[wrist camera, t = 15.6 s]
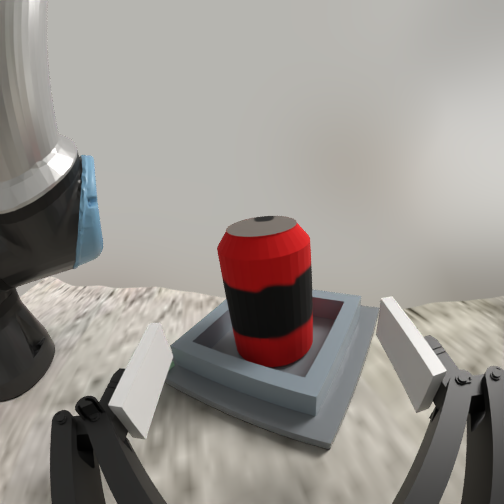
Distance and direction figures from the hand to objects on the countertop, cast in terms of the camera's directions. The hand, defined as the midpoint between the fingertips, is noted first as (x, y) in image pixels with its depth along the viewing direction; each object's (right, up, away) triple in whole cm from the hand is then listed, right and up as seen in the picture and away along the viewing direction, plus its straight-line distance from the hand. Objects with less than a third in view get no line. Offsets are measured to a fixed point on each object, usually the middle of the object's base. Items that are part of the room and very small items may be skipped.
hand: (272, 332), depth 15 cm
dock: (+1, -5, +11) cm, 13 cm away
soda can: (+1, -5, +11) cm, 12 cm away
